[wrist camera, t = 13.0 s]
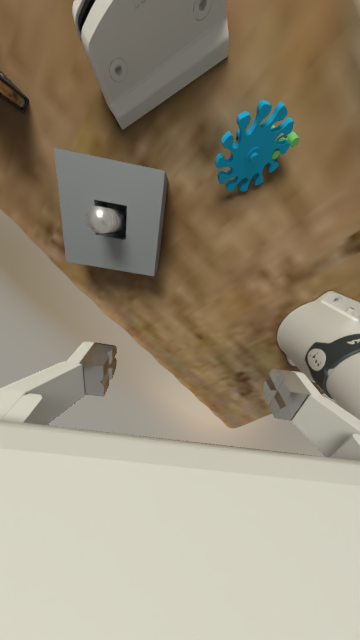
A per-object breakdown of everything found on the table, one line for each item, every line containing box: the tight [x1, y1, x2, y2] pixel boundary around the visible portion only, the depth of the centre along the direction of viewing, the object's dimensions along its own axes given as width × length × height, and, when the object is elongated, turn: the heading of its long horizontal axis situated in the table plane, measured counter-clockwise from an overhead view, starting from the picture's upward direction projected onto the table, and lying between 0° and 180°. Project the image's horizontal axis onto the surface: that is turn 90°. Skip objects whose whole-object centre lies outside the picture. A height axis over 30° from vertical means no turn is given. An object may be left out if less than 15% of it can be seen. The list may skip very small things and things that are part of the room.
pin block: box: [54, 148, 168, 276], centre depth 30 cm, size 14×14×6 cm
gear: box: [215, 100, 299, 192], centre depth 26 cm, size 11×6×10 cm
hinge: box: [73, 0, 229, 130], centre depth 20 cm, size 17×5×10 cm, turn 116°
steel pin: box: [86, 206, 127, 234], centre depth 27 cm, size 3×3×10 cm
